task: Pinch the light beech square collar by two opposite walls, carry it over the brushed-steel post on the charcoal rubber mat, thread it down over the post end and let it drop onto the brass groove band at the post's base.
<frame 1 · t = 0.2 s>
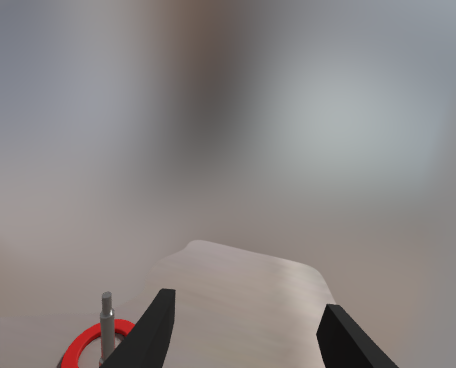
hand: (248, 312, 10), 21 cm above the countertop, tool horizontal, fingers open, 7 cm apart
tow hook: (104, 359, 26), on the countertop
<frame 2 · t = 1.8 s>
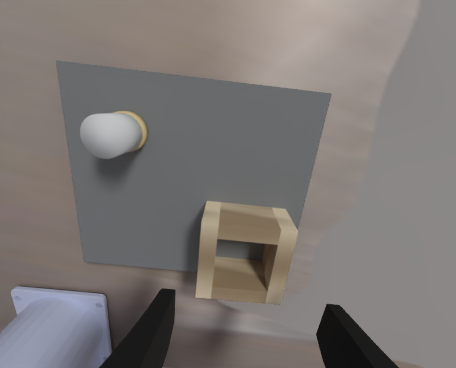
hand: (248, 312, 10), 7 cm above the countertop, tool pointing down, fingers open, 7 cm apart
collar: (241, 238, 16), point 1 cm above the countertop, touching post mat
post mat: (192, 184, 16), on the countertop
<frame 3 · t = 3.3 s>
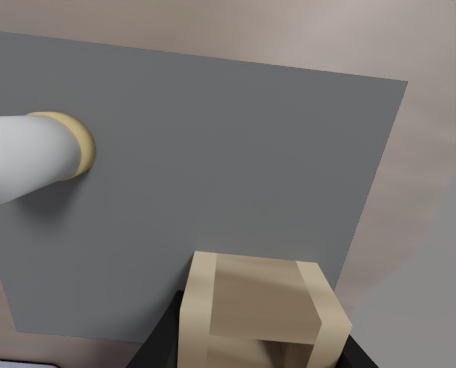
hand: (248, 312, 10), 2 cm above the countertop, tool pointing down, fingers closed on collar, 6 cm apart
collar: (247, 303, 11), point 1 cm above the countertop, touching gripper, post mat
post mat: (174, 223, 10), on the countertop
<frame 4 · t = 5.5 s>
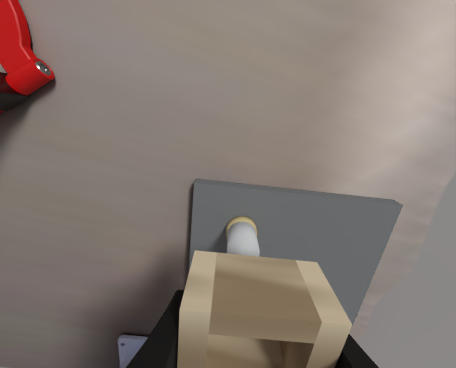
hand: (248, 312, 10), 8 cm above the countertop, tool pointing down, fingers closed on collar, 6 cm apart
collar: (247, 302, 11), point 8 cm above the countertop, touching gripper
post mat: (279, 261, 19), on the countertop
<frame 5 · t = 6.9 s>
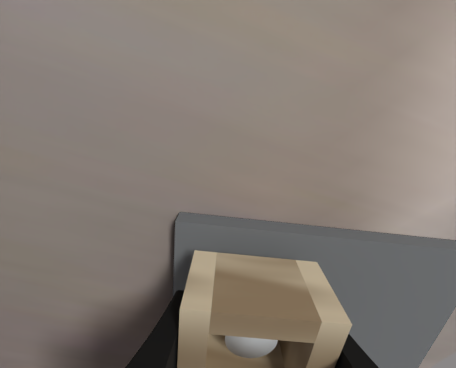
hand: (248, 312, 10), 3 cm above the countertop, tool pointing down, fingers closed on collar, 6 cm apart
collar: (247, 302, 11), point 2 cm above the countertop, touching gripper
post mat: (298, 320, 14), on the countertop
when the fingers open (3 cm above the countertop, at t = 8.1 s): collar drops 1 cm, resting on post mat.
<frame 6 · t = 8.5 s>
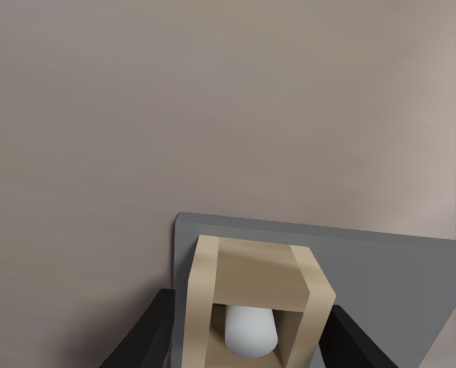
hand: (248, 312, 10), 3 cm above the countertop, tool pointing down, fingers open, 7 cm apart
collar: (246, 284, 12), point 1 cm above the countertop, touching post mat
post mat: (298, 320, 14), on the countertop
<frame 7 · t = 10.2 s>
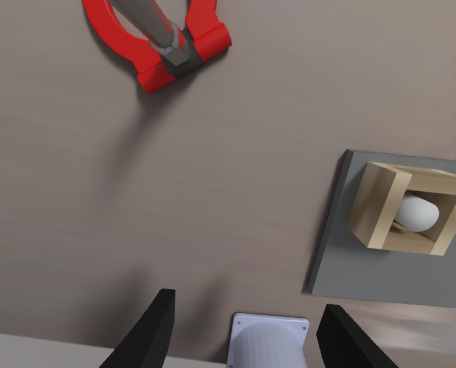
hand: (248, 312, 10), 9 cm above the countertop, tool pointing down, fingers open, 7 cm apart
collar: (390, 199, 17), point 1 cm above the countertop, touching post mat
post mat: (411, 234, 19), on the countertop
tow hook: (156, 5, 14), on the countertop
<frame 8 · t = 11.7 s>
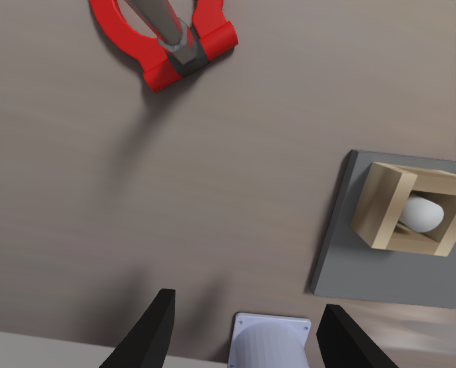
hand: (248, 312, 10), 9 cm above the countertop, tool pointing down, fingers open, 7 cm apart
collar: (394, 199, 17), point 1 cm above the countertop, touching post mat
post mat: (414, 235, 19), on the countertop
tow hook: (163, 3, 14), on the countertop
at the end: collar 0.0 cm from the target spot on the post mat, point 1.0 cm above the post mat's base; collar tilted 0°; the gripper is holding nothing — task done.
